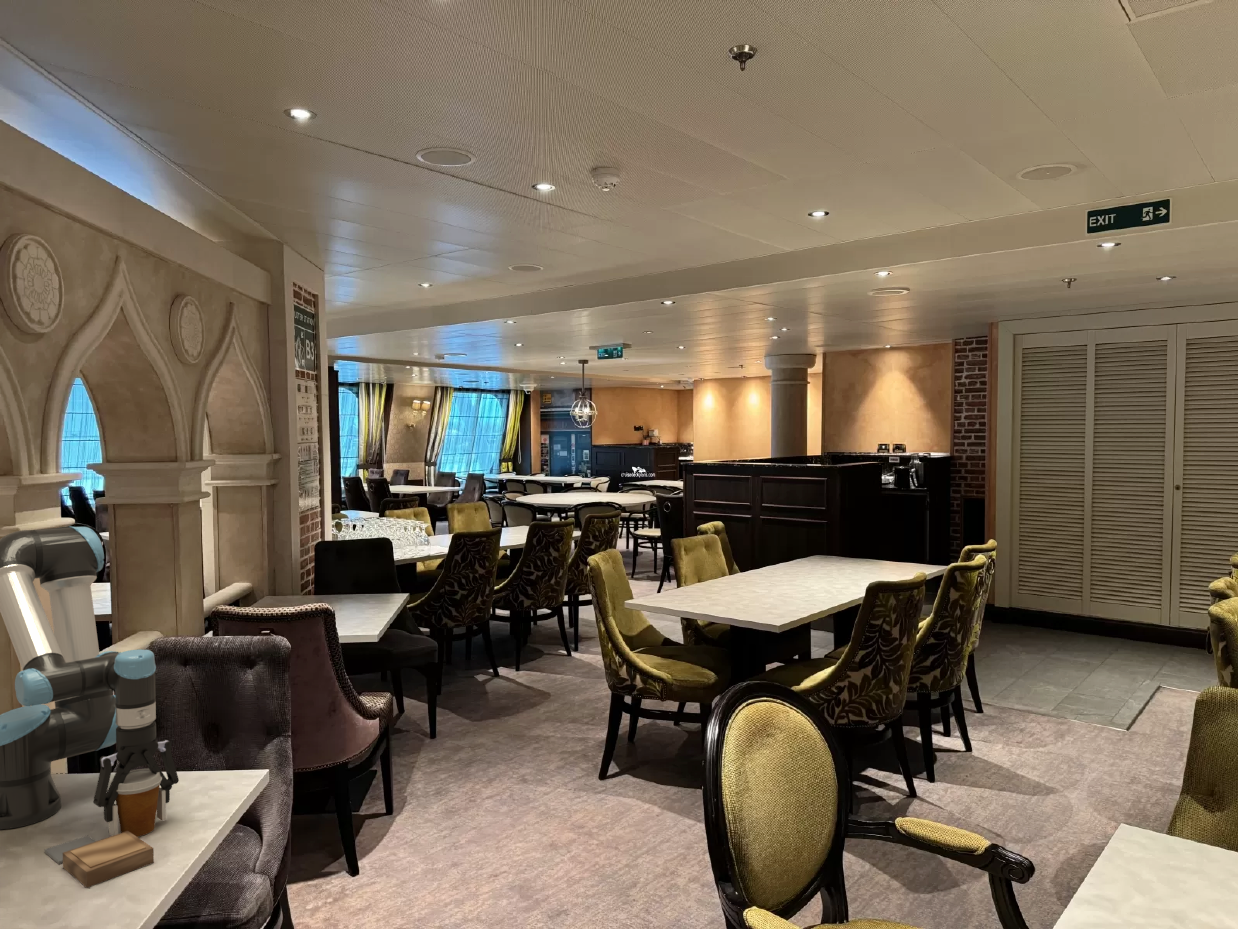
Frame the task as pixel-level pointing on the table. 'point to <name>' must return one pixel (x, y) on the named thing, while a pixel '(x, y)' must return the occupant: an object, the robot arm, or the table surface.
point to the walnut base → (107, 858)
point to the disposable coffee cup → (138, 801)
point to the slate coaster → (67, 848)
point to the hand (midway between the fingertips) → (137, 826)
